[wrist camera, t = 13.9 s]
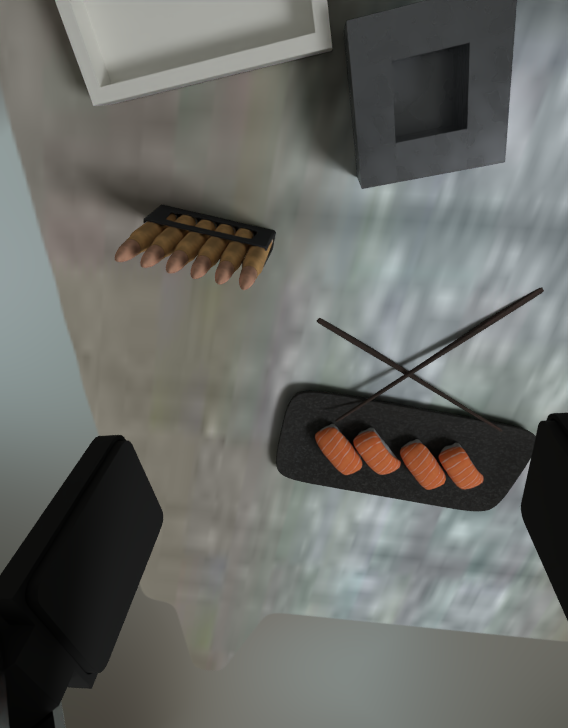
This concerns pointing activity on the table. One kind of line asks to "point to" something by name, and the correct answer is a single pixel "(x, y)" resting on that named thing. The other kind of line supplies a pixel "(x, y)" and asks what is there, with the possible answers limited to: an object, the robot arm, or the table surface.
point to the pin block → (430, 88)
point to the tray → (186, 41)
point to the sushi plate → (403, 442)
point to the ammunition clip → (200, 244)
